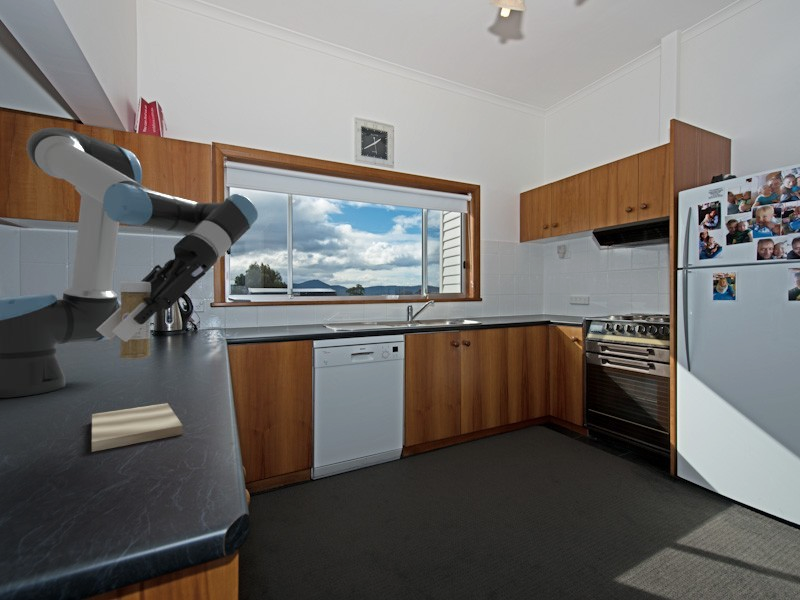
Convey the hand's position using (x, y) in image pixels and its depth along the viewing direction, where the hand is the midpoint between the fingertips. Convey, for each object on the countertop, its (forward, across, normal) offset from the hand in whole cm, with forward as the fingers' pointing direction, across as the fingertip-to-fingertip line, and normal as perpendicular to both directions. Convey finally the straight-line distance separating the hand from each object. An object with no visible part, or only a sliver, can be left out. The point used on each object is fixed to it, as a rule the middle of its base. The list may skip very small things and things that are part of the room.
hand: (111, 335), depth 64 cm
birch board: (+9, 0, -14) cm, 17 cm away
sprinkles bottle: (0, 0, -6) cm, 6 cm away
